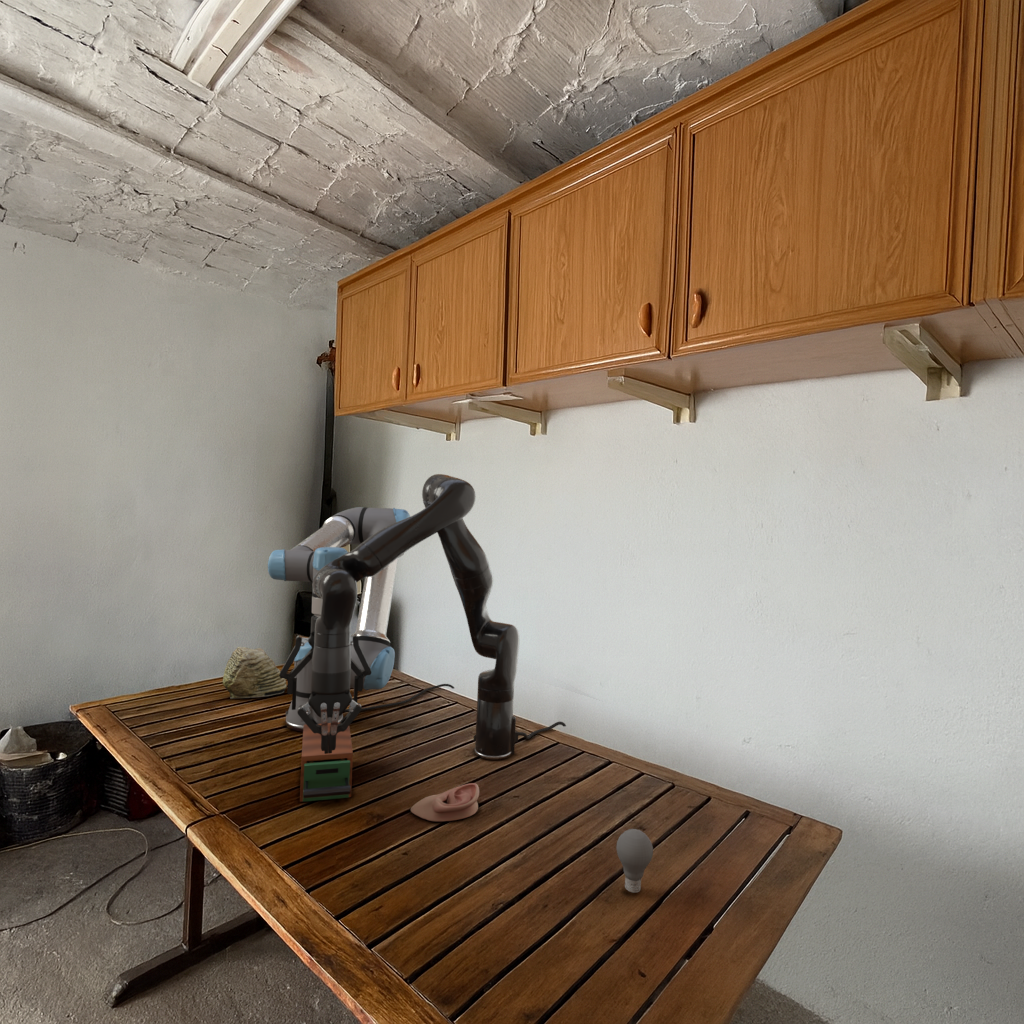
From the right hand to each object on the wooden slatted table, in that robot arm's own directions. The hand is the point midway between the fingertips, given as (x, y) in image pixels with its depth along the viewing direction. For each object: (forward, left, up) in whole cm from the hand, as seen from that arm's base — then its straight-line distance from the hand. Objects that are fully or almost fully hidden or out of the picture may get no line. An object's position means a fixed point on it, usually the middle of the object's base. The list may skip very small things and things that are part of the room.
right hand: (328, 752), depth 128 cm
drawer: (-2, -8, -11) cm, 14 cm away
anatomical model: (-22, +8, -12) cm, 27 cm away
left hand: (-3, -19, +3) cm, 20 cm away
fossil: (+6, -82, -12) cm, 83 cm away
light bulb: (-41, +46, -12) cm, 63 cm away
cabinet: (-3, -14, -12) cm, 19 cm away
